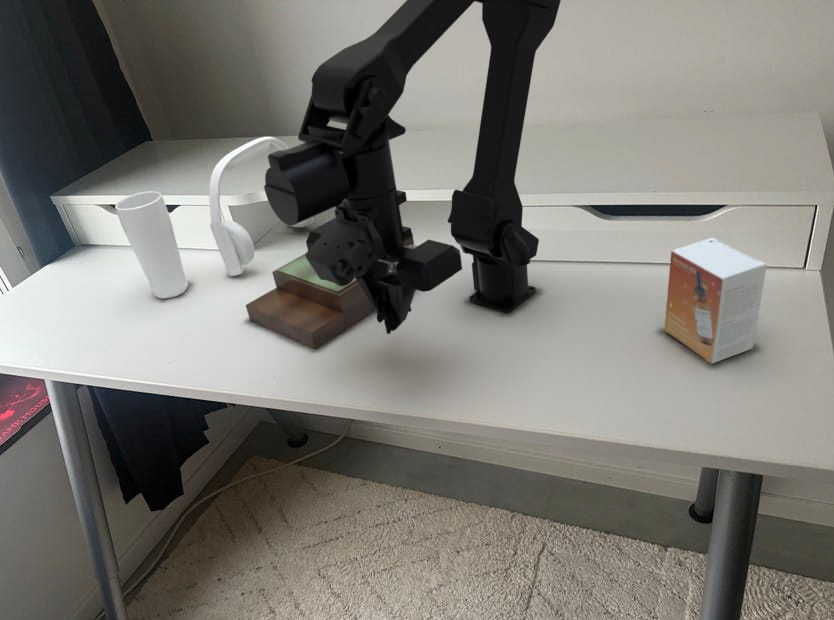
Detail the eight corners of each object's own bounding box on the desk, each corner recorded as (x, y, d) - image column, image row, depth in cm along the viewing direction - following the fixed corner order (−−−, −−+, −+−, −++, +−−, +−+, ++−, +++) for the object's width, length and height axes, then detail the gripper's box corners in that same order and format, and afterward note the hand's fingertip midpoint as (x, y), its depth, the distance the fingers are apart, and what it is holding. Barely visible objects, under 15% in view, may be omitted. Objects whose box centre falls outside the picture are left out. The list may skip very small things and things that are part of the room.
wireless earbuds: (386, 343, 80) (379, 305, 78) (368, 339, 82) (360, 301, 79) (416, 311, 85) (410, 274, 82) (398, 308, 86) (391, 271, 84)
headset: (248, 283, 109) (214, 170, 99) (215, 277, 113) (179, 167, 103) (325, 228, 123) (302, 123, 113) (293, 224, 126) (268, 122, 116)
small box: (663, 331, 83) (668, 249, 77) (703, 317, 84) (712, 235, 78) (711, 365, 76) (722, 278, 71) (754, 349, 78) (768, 262, 72)
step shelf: (419, 281, 102) (412, 232, 98) (315, 349, 91) (302, 298, 87) (352, 260, 111) (343, 215, 106) (249, 320, 100) (235, 272, 95)
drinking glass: (141, 302, 109) (105, 210, 101) (163, 281, 114) (130, 191, 106) (180, 302, 107) (146, 208, 99) (201, 280, 113) (170, 189, 104)
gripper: (253, 204, 76) (288, 329, 84) (378, 237, 64) (403, 378, 73) (330, 167, 82) (355, 287, 90) (457, 191, 70) (472, 326, 79)
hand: (392, 317), depth 83 cm, fingers closed on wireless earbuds, 3 cm apart
